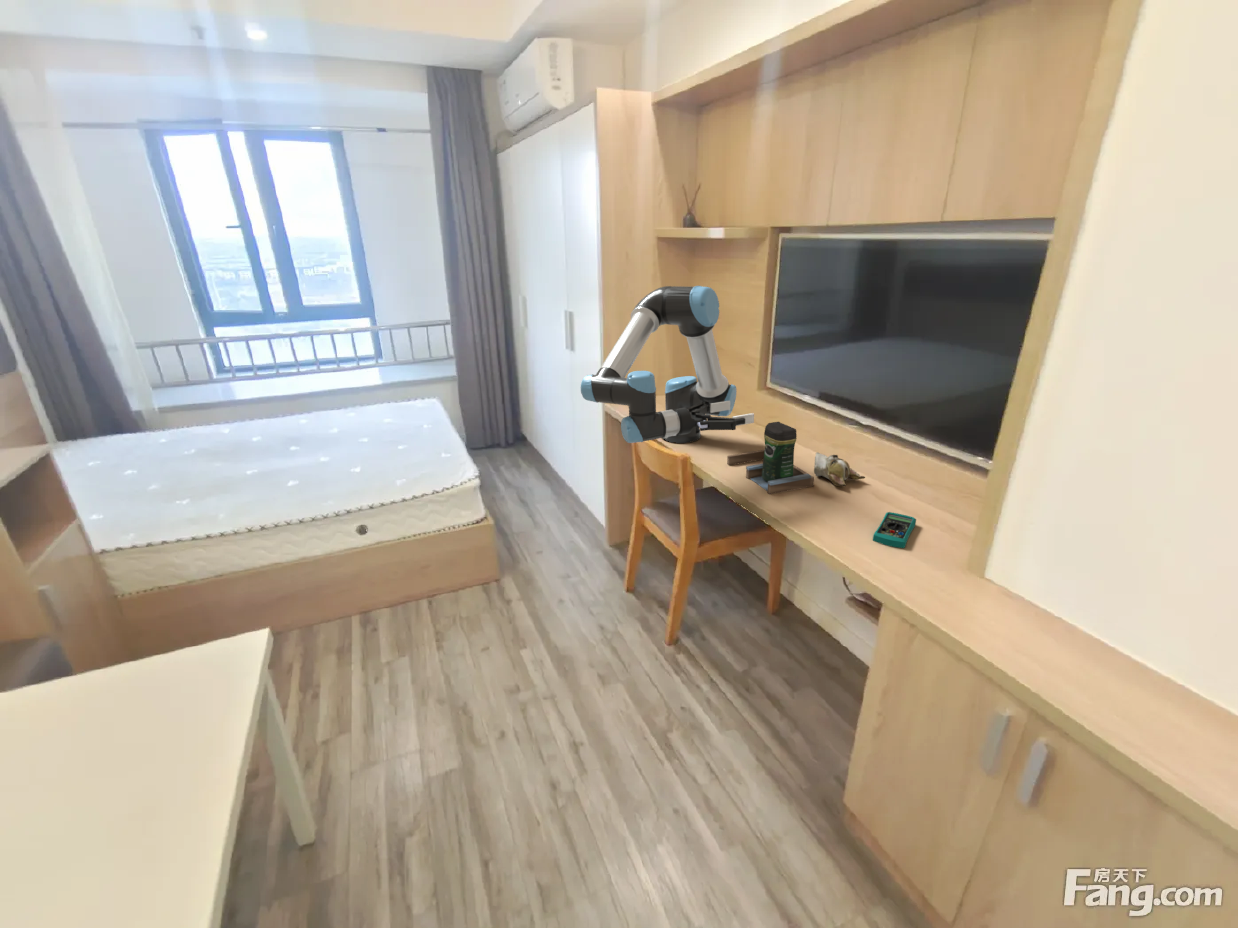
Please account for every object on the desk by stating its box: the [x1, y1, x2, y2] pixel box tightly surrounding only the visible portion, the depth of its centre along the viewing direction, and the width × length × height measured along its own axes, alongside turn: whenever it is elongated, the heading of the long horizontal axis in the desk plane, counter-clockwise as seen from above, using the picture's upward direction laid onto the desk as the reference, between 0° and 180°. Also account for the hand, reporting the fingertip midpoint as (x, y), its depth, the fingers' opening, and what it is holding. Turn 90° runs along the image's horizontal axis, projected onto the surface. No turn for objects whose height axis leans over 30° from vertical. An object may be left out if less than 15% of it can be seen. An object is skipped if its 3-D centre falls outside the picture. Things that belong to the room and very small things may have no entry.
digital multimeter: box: [872, 511, 917, 549], centre depth 141 cm, size 7×15×3 cm, turn 144°
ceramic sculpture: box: [813, 451, 866, 487], centre depth 171 cm, size 11×9×15 cm
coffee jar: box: [762, 421, 798, 482], centre depth 170 cm, size 10×8×19 cm
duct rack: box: [726, 449, 815, 495], centre depth 178 cm, size 26×15×4 cm, turn 18°
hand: (741, 411), depth 164 cm, fingers open, 13 cm apart
